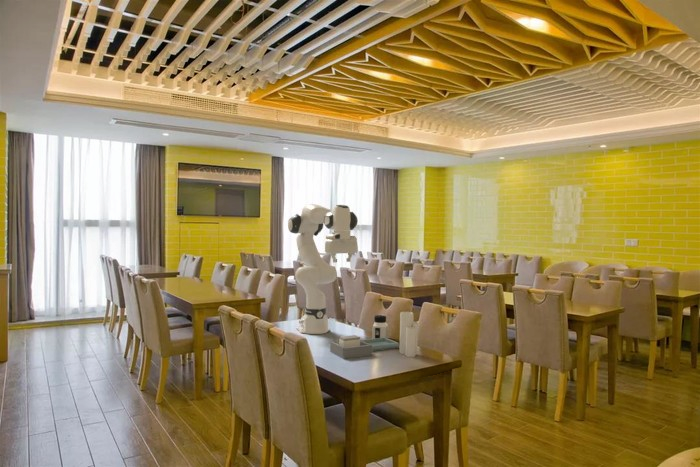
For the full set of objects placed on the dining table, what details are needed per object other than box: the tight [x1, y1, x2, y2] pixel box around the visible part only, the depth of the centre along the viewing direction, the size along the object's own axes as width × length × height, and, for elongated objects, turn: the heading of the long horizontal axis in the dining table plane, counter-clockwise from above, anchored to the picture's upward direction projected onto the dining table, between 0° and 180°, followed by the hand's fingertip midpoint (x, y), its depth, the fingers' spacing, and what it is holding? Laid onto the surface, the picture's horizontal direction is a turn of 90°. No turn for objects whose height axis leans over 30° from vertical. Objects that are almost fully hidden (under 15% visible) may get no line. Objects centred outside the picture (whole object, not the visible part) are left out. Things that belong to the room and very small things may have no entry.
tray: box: [360, 337, 400, 352], centre depth 257 cm, size 14×18×2 cm
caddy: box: [338, 334, 361, 348], centre depth 244 cm, size 5×9×8 cm, turn 118°
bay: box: [329, 339, 373, 360], centre depth 243 cm, size 15×15×5 cm
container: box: [371, 314, 389, 339], centre depth 276 cm, size 8×8×13 cm
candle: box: [398, 311, 419, 358], centre depth 244 cm, size 11×7×20 cm, turn 27°
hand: (341, 262), depth 258 cm, fingers open, 8 cm apart
